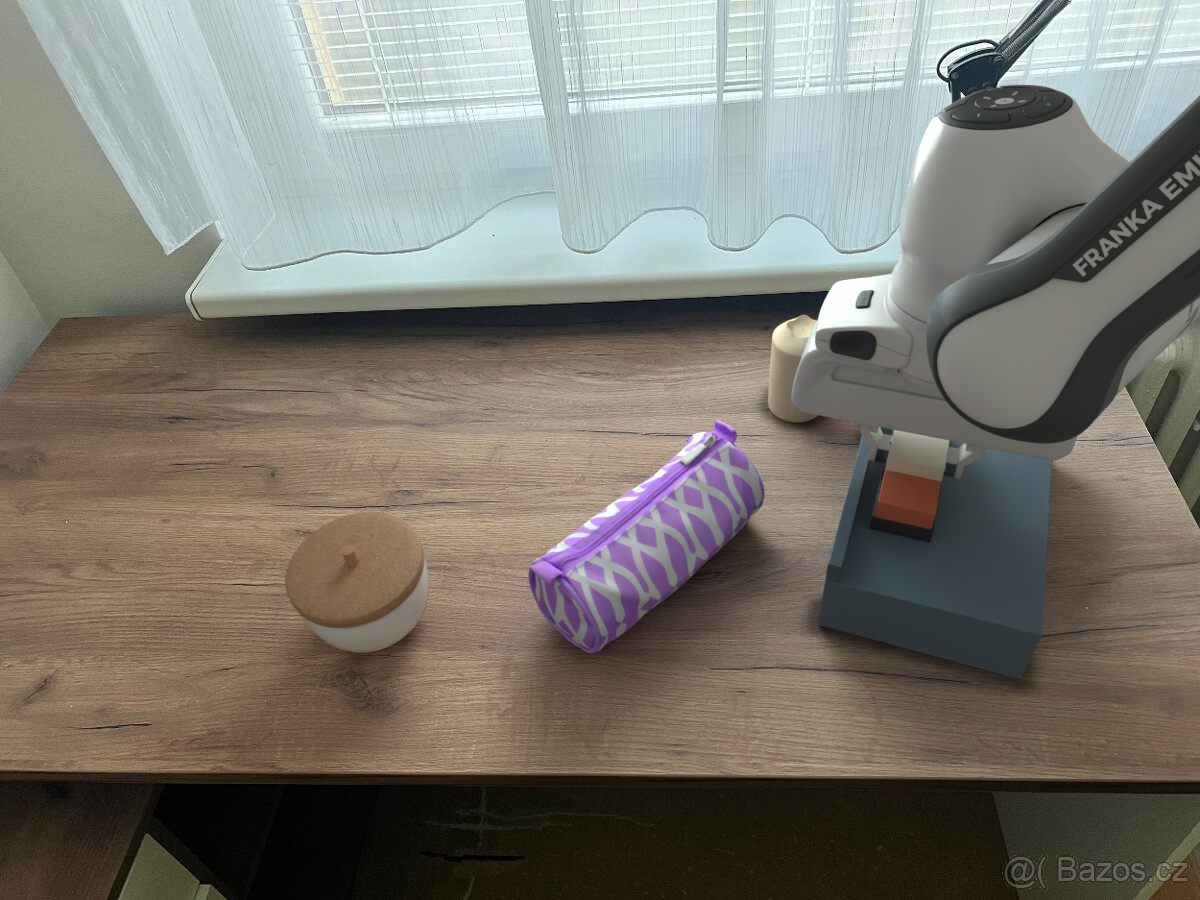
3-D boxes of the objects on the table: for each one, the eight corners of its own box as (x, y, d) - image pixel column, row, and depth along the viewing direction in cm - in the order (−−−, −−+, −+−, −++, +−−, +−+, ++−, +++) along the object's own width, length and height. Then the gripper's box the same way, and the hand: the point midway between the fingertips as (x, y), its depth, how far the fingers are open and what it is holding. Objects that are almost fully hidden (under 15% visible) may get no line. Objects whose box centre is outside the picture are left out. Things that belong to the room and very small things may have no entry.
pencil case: (693, 470, 83) (692, 395, 76) (774, 518, 78) (781, 442, 71) (524, 621, 72) (506, 550, 66) (605, 687, 67) (595, 617, 61)
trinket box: (468, 599, 74) (445, 529, 68) (382, 698, 68) (347, 631, 62) (377, 550, 79) (347, 480, 72) (288, 638, 73) (247, 570, 66)
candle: (764, 420, 87) (770, 340, 80) (770, 384, 90) (776, 304, 83) (821, 425, 85) (832, 345, 78) (825, 388, 89) (835, 309, 82)
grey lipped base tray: (1037, 458, 80) (1062, 393, 75) (1020, 680, 65) (1050, 619, 59) (869, 426, 85) (881, 362, 79) (817, 625, 70) (828, 564, 64)
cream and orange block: (892, 427, 76) (901, 386, 73) (948, 438, 75) (959, 397, 71) (869, 528, 69) (877, 488, 65) (930, 543, 67) (942, 502, 64)
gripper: (1115, 323, 59) (1056, 464, 69) (812, 279, 66) (798, 414, 75) (1115, 382, 55) (1053, 523, 65) (793, 328, 62) (780, 464, 71)
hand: (914, 464), depth 70 cm, fingers closed on cream and orange block, 4 cm apart
